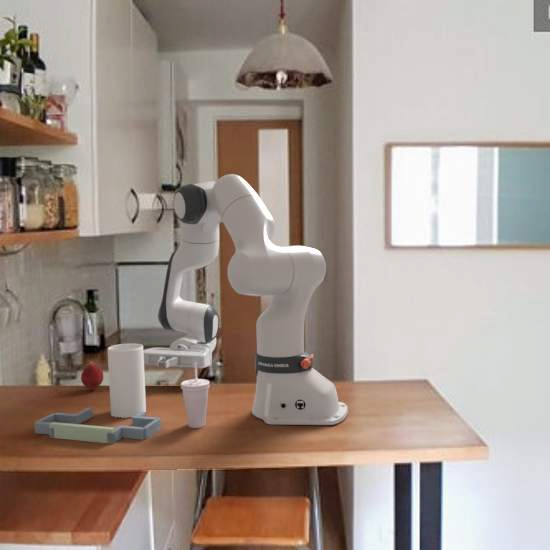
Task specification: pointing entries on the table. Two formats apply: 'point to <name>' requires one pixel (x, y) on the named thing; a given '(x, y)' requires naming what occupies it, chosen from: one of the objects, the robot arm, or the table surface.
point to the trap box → (95, 427)
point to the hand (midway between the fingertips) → (161, 364)
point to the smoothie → (195, 400)
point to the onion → (92, 376)
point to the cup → (126, 380)
